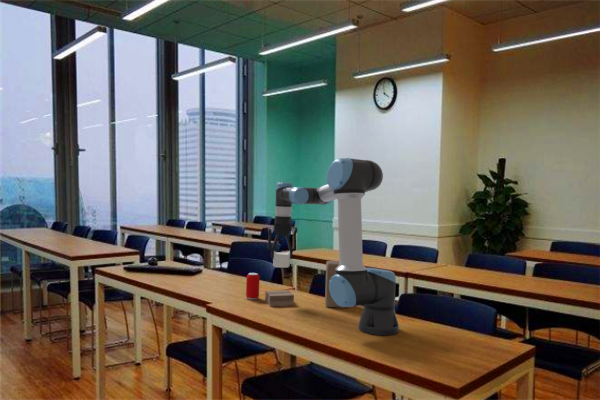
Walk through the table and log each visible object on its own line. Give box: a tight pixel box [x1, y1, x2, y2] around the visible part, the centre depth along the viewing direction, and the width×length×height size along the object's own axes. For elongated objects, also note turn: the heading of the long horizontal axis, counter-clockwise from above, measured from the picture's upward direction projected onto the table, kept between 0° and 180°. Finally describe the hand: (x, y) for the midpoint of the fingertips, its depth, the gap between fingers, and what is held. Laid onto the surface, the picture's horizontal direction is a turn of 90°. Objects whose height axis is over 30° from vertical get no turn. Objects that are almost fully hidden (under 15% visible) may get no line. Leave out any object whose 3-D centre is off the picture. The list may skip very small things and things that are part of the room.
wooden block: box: [324, 260, 348, 309], centre depth 211 cm, size 10×10×20 cm
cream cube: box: [274, 251, 289, 269], centre depth 212 cm, size 6×6×6 cm
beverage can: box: [245, 272, 260, 301], centre depth 220 cm, size 6×6×12 cm
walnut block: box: [264, 289, 295, 307], centre depth 212 cm, size 11×11×5 cm
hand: (281, 265), depth 212 cm, fingers closed on cream cube, 6 cm apart
